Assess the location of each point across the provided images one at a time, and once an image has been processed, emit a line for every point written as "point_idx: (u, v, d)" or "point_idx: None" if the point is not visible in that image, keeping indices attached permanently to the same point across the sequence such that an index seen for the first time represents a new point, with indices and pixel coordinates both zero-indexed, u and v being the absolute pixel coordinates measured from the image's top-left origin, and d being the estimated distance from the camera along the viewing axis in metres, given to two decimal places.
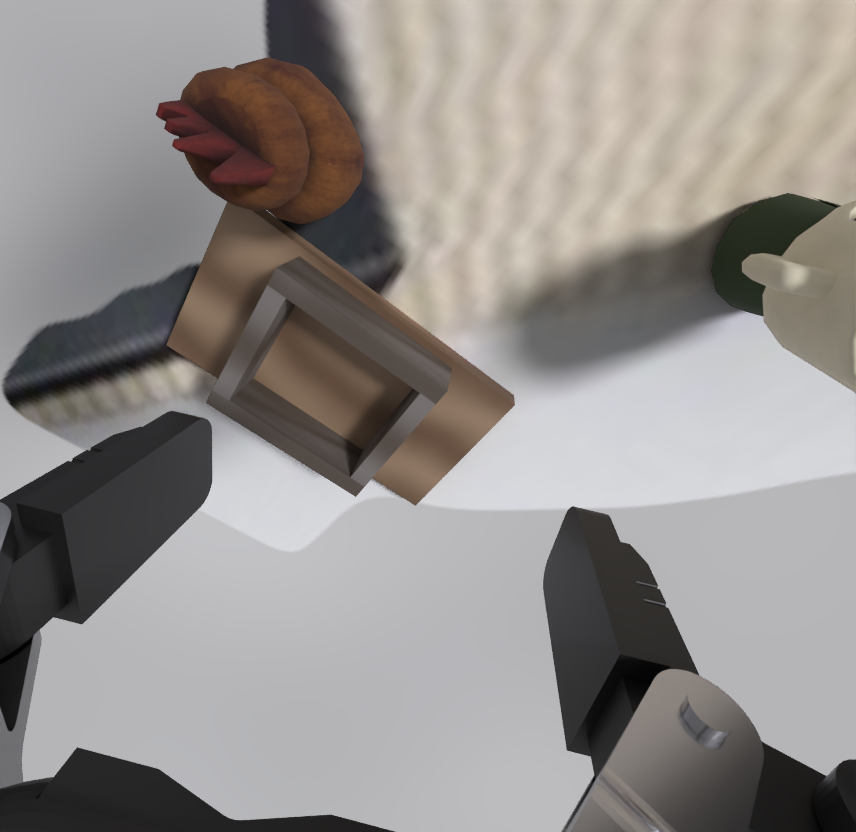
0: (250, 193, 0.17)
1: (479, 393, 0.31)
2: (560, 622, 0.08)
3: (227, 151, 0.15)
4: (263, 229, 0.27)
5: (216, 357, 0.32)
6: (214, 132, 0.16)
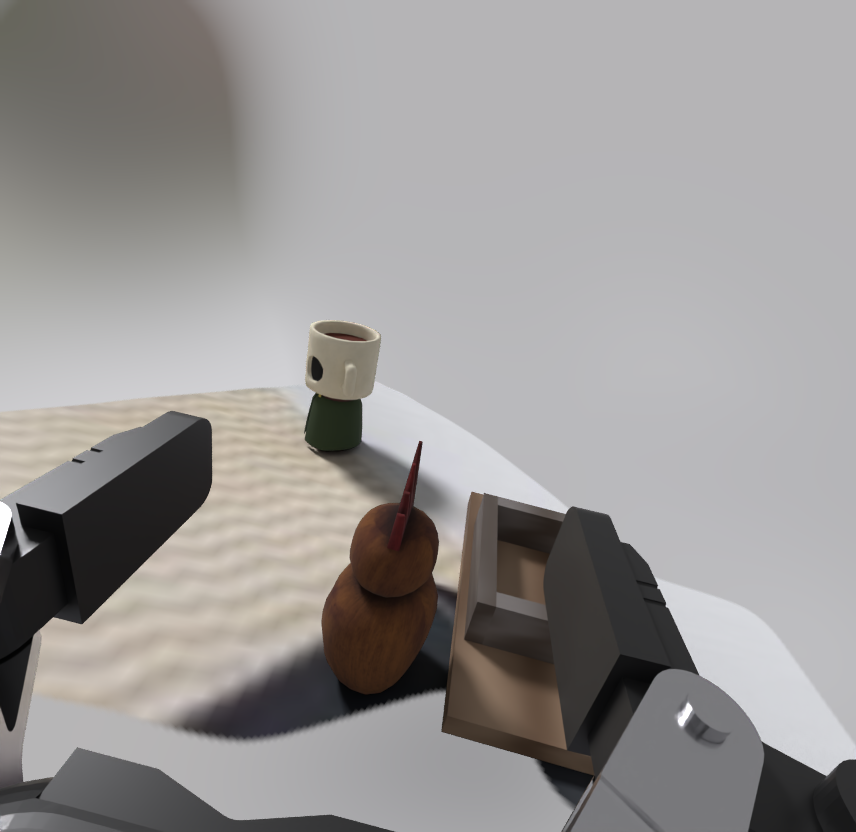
0: (423, 513, 0.25)
1: (478, 508, 0.42)
2: (560, 622, 0.08)
3: None
4: (460, 676, 0.27)
5: None
6: (397, 510, 0.23)
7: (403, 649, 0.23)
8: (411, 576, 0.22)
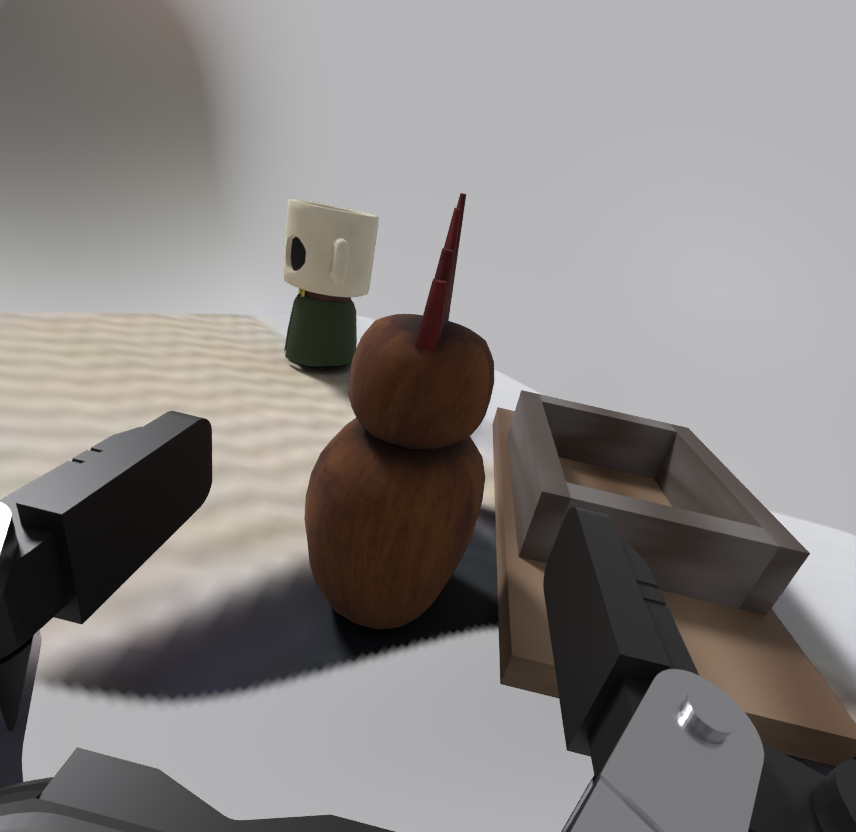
0: None
1: (509, 422, 0.33)
2: (560, 622, 0.08)
3: None
4: (522, 601, 0.17)
5: (766, 643, 0.18)
6: None
7: (442, 541, 0.14)
8: (457, 401, 0.13)
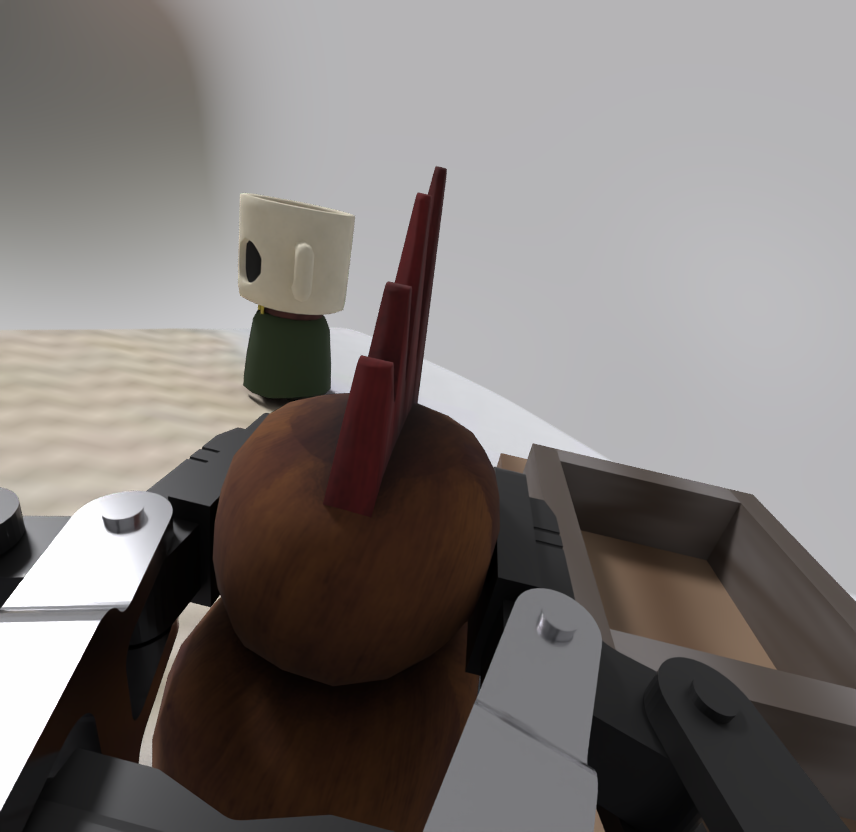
0: (448, 417, 0.09)
1: None
2: None
3: None
4: None
5: None
6: None
7: None
8: (420, 613, 0.06)
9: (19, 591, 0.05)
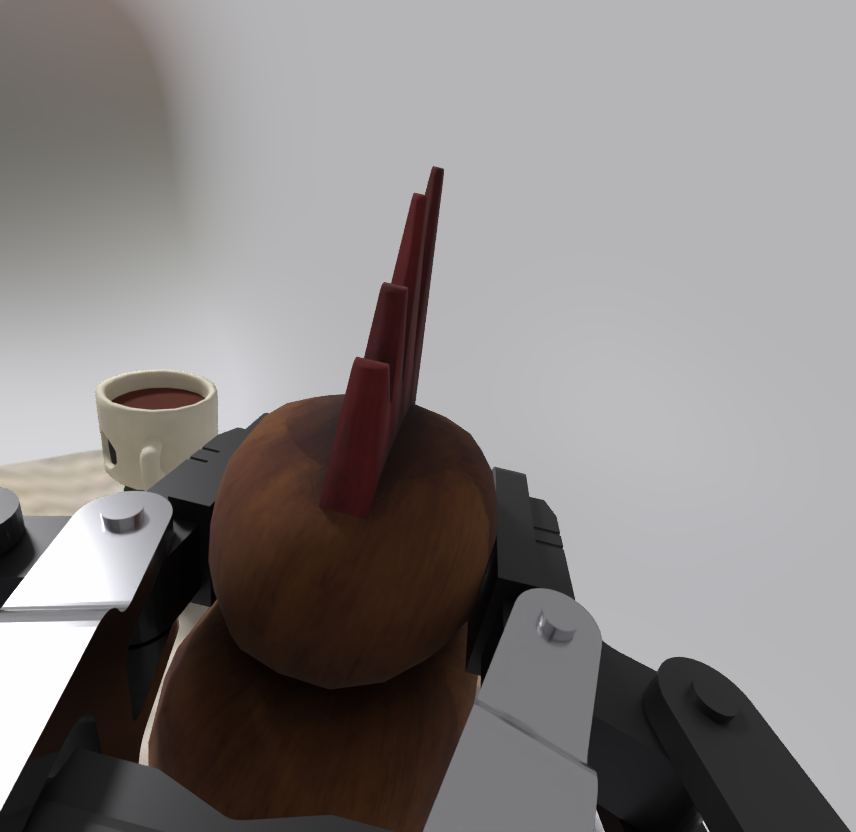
0: (446, 418, 0.08)
1: None
2: None
3: None
4: None
5: None
6: None
7: None
8: (417, 616, 0.06)
9: (19, 590, 0.05)
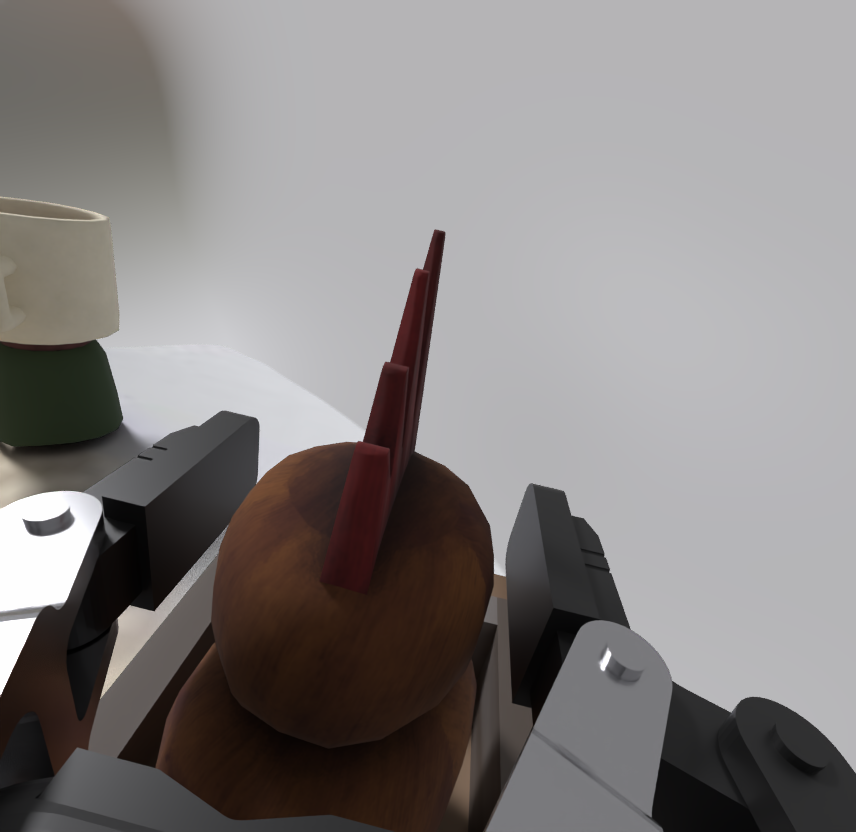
0: (445, 468, 0.09)
1: None
2: (515, 590, 0.09)
3: None
4: None
5: None
6: None
7: None
8: (414, 683, 0.06)
9: None
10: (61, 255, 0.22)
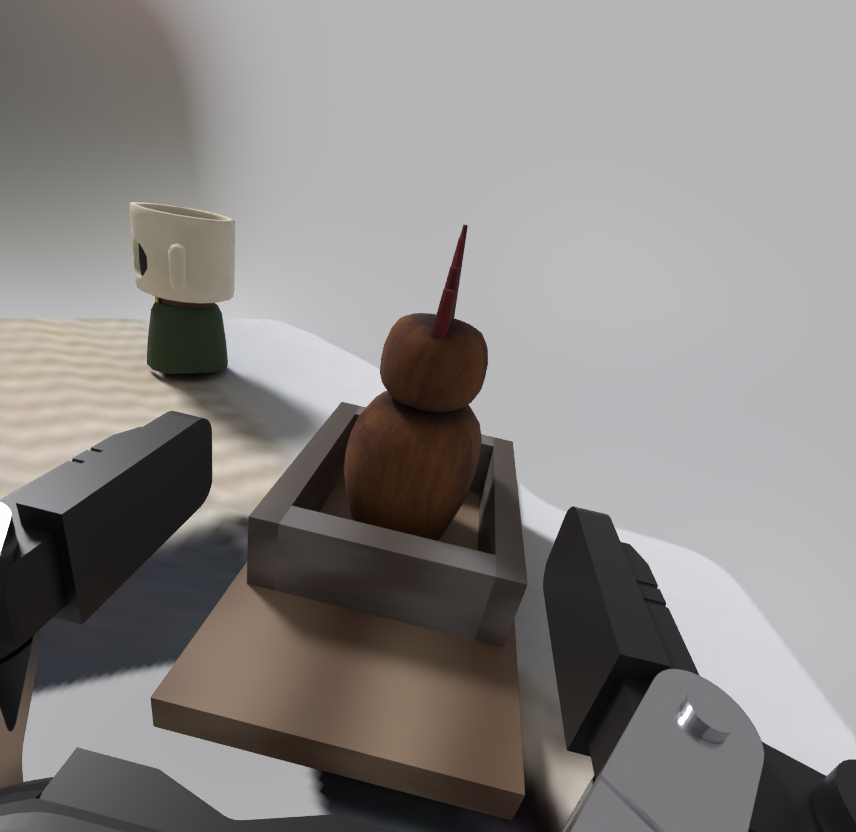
0: None
1: None
2: (560, 622, 0.08)
3: None
4: (211, 635, 0.16)
5: (479, 680, 0.17)
6: None
7: (449, 479, 0.19)
8: (460, 375, 0.18)
9: None
10: (212, 243, 0.34)
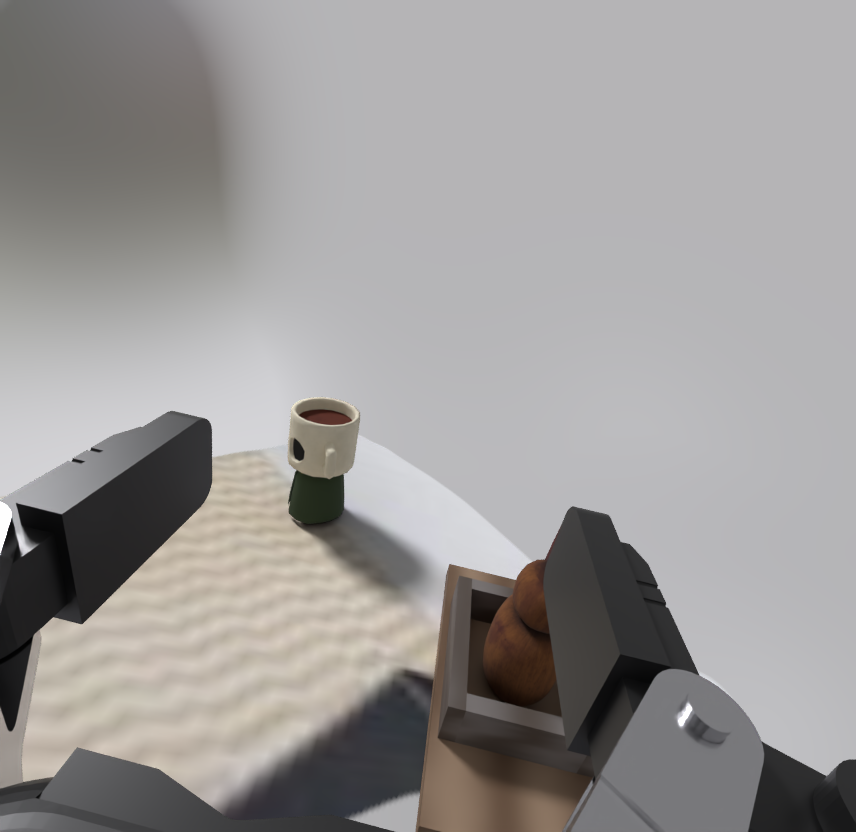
0: None
1: (455, 583, 0.44)
2: (560, 622, 0.08)
3: None
4: (433, 780, 0.29)
5: None
6: None
7: None
8: None
9: None
10: (349, 437, 0.46)
